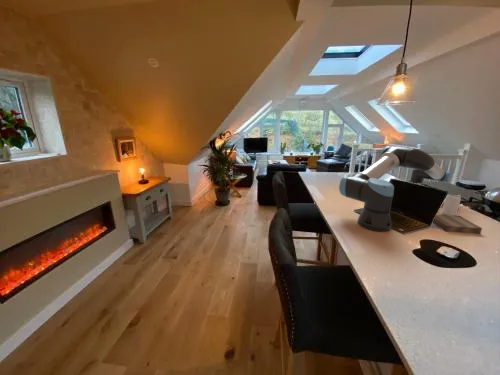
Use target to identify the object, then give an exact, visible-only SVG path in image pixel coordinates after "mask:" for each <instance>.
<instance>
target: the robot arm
mask: <svg viewBox="0 0 500 375" xmlns="http://www.w3.org/2000/svg"><path fill="white" fill-rule="evenodd" d="M398 168H406V169H407V168H408V169H412V172H411V176H410V178H409V180H408V181H409V182H413V183H416V184H419V185H424V186H429V187H431V186H430V185H428V184H426V183H424V180H425V179H426V180H429V181H430V180H431V181H435V182H436V181H437V182H441V183H449V182H450V181H451V179H452V177H453V172H451V171H449V170H444V169H443V168H442V167H441V166H440V165H439V164H437V162H435V158H434V157H433V156H432V155H431V154H429V153H427V152H426V151H424V150H421V149H419V148H413V147H403V146H401V147H400V146H395V145H391V146H385V147H383V149H382V150H381V152H380V153H379V157H378V160H376V161H375V162H374V163H373V164H371V165H370V166H368V167H367V168H365V170H363V171H359V172H356V173H354V174H352V175H349V174H347V175H344V176H342V178H341V179H340V182H339V187H338V191H339V193H340V195H342V196H343V197H345V198H348V199H352V200H355V201H358V202H360V203H361V202H362V203H364V204H363V209H362V211H361V213H360V214H359V216H358V219H357V224H358V225H359V226H360V227H363V228H365V229H367V230H370V231H374V232H375V231H376V232H388V231H391V228H392V220H391V214H390V213H391V212H390V211H391V208H392V203H393V198H394V194H395V193H394V192H395V186H394V184H393V183H391V182H390V181H388V180H385V179H382V178H381V177H383V176H384V175H386V174H387V173H388V172H390V171H394V170H396V169H398Z"/></svg>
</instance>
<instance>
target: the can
mask: <svg viewBox="0 0 500 375" xmlns="http://www.w3.org/2000/svg"><path fill="white" fill-rule="evenodd" d="M447 193H448V194H447V196H446V198H445V197H444V198H445V199H444V203H443V206H442V209H441V215H457V213H458V210H459V208H460V203H461V200H462V198H461V194H458V193H454V192H453V193H452V192H451V193H450V192H447Z"/></svg>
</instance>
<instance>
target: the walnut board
mask: <svg viewBox="0 0 500 375" xmlns="http://www.w3.org/2000/svg"><path fill="white" fill-rule="evenodd" d="M436 214H437V215H436V216H435V218H434V220H433V223H432V224H434V225H436V226H437V227H439V228H440V230H442V231H444V232H448V233H458V234H459V233H462V234H473V235H474V234H475V235H476V234H478V235H481V233H482V230H483V228H482V227H481V226H479V225H477V224H475V223H474V222H471V221H470V220H468V219H466V218H464V217H463V216H460V215H457V214H456V215H444V214H440V213H439V214H438V213H436Z"/></svg>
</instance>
